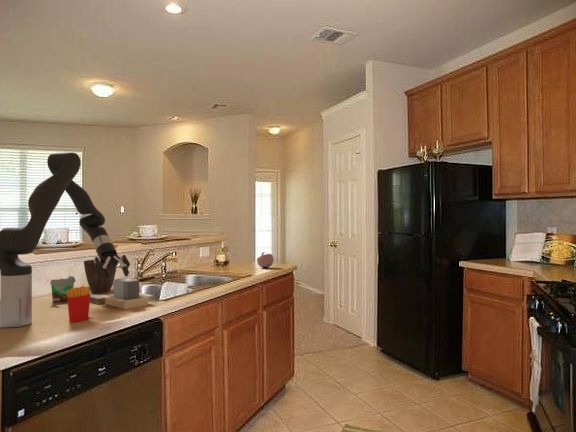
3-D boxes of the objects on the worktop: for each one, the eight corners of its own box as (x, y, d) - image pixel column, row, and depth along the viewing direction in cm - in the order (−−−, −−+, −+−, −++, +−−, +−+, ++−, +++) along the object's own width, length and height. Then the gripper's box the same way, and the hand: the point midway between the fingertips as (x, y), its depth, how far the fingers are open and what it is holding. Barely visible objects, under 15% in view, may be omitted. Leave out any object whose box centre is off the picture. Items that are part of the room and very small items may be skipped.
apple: (266, 266, 322) (266, 251, 322) (277, 268, 312) (277, 252, 312) (253, 268, 314) (253, 251, 314) (263, 269, 305) (263, 253, 305)
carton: (118, 312, 171) (118, 300, 171) (98, 306, 182) (98, 296, 182) (153, 306, 182) (153, 295, 182) (133, 301, 193) (133, 291, 193)
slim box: (127, 307, 176) (127, 281, 176) (113, 303, 184) (113, 279, 184) (139, 305, 180) (139, 280, 180) (125, 301, 187) (125, 277, 187)
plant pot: (84, 292, 215) (84, 259, 215) (117, 290, 220) (117, 258, 220) (82, 297, 201) (82, 262, 201) (117, 295, 206) (117, 261, 206)
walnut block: (98, 306, 182) (98, 298, 182) (85, 302, 190) (85, 295, 190) (125, 301, 191) (125, 294, 191) (111, 298, 199) (111, 291, 199)
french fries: (85, 317, 162) (84, 284, 162) (92, 318, 160) (92, 285, 160) (64, 322, 155) (64, 288, 155) (71, 323, 153) (71, 288, 153)
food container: (62, 303, 188) (62, 280, 188) (50, 303, 189) (50, 279, 189) (81, 298, 200) (81, 276, 200) (69, 297, 201) (69, 275, 201)
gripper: (91, 242, 187) (104, 272, 179) (122, 241, 197) (136, 268, 190) (85, 254, 190) (98, 283, 183) (117, 252, 201) (130, 280, 193)
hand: (117, 276), depth 186 cm, fingers open, 8 cm apart
